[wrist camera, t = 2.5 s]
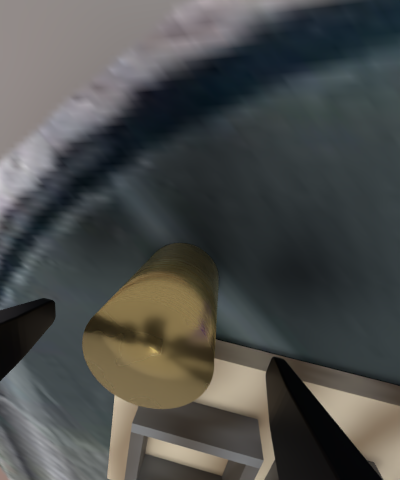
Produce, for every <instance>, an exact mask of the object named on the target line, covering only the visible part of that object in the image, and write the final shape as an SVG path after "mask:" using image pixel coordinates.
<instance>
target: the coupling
mask: <svg viewBox="0 0 400 480" xmlns="http://www.w3.org/2000/svg"><path fill="white" fill-rule="evenodd" d="M218 282H219V276H218V271H217V267H216V265H215V263H214V261H213V260H212V259H211V257H210V256H209V255H208V254H207V253H206V252H204V251H203V250H202V249H200V248H198V247H196V246H194V245H190V244H186V243H174V244H169V245H167V246H164V247H163V248H161V249H159V250H158V251H157V252H156V253H155V254H154V255H153V256H152V257H151V258H150V259H149V260H148V261H147V262H146V263H145V264H144V265H143V266H142V267H141V268H140V269H139V270H138V271H137V272H136V273H135V274H134V275H133V276H132V277H131V278H130V279H129V281H128V282H127V283H126V284H125V285H124V286H123V287H122V288H121V289H120V290H119V291H118V292H117V293H116V294H115V295H114V296H113V297H112V298H111V299H110V300H109V301H108V302H107V303H106V304H105V305H104V306H103V307H102V308H101V309H100V310H99V311H98V312H97V313H96V314H95V315H94V316H93V317H92V318H91V320H90V321H89V323H88V324H87V326H86V328H85V331H84V335H83V342H82V345H83V353H84V357H85V360H86V363H87V365H88V367H89V369H90V371H91V372H92V374H93V375H94V376H95V378H96V379H97V380H98V381H99V382H100V383H101V384H102V385H103V386H104V387H105V388H106V389H107V390H109V391H110V392H111V393H113V394H114V395H116V396H117V397H119V398H121V399H123V400H125V401H127V402H129V403H132V404H135V405H138V406H142V407H146V408H152V409H171V408H177V407H181V406H184V405H187V404H189V403H191V402H193V401H194V400H196V399H197V398H199V397H200V396H201V395H202V394H203V393H204V392H205V391H206V390H207V388H208V386H209V385H210V383H211V380H212V378H213V373H214V359H215V340H216V320H217V301H218Z"/></svg>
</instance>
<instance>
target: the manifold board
mask: <svg viewBox="0 0 400 480" xmlns="http://www.w3.org/2000/svg"><path fill="white" fill-rule="evenodd" d="M274 356H275V357H279V358H283V359H284V360H285V361H286V362H287V363H288V364H289V365H290V367H291V368H292V369H293V370H294V372H295V373H296V374H297V375H298V376H299V378H300V379H301V380H302V381H303V383H304V384H305V385H306V386H307V387H308V389H309V390H310V391H311V392H312V394H313V395H314V396H315V397H316V398H317V400H318V401H319V402H320V403H321V405H322V406H323V407H324V408H325V410H326V411H327V412H328V413H329V414H330V416H331V417H332V418H333V419H334V421H335V422H336V423H337V424H338V425H339V427H340V428H341V429H342V430H343V432H344V433H345V434H346V435H347V436H348V438H349V439H350V440H351V441H352V443H353V444H354V445H355V446H356V447H357V449H358V450H359V451H360V452H361V454H362V455H363V456H364V457H365V458H366V460H367V461H368V462H369V463H370V465H371V466H372V467H373V468H374V469H375V471H376V472H377V473H378V474H379V476H380V477H381V478H382V480H400V386H398V385H394V384H390V383H386V382H382V381H378V380H374V379H370V378H366V377H362V376H358V375H354V374H350V373H346V372H343V371H339V370H335V369H331V368H327V367H323V366H319V365H315V364H311V363H307V362H303V361H299V360H295V359H291V358H287V357H283V356H279V355H275V354H271V353H267V352H263V351H260V350H256V349H252V348H248V347H244V346H240V345H236V344H232V343H228V342H224V341H220V340H215V359H214V373H213V378H212V380H211V383H210V385H209V386H208V388H207V390H206V391H205V392H204V393H203V394H202V395H201V396H200V397H199V398H197V399H196V400H194V401H193V402H191V403H189V404H187V405H184V406H181V407H177V408H171V409H152V408H146V407H142V406H138V405H135V404H132V403H129V402H127V401H125V400H123V399H121V398H119V397H117V396H116V395H115V398H114V410H113V421H112V432H111V443H110V454H109V465H108V476H107V478H108V479H111V480H279V479H278V474H277V468H276V462H275V456H274V450H273V444H272V439H271V432H270V425H269V415H268V403H267V390H266V371H267V368H268V366H269V363H270V361H271V358H272V357H274Z"/></svg>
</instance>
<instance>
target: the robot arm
mask: <svg viewBox="0 0 400 480" xmlns="http://www.w3.org/2000/svg"><path fill="white" fill-rule="evenodd" d="M55 316H56V315H55V302H54V301H53V300H50V299H46V298H42V299H38V300H35V301H31V302H28V303H24V304H21V305H17V306H14V307H10V308H7V309H3V310H0V381H1V380H2V379H3V378H4V377H5V376H6V375H7V374H8V373H9V372H10V371H11V370H12V369H13V368H14V367H15V366H16V365H17V364H18V363H19V361H20V360H21V359H22V358H23V357H24V356H25V355H26V354H27V353H28V352H29V350H30V349H31V348H32V347H33V346H34V344H35V343H36V342H37V341H38V340H39V339H40V337H41V336H42V335H43V334H44V333H45V331H46V330H47V329H48V328H49V327H50V326H51V324H52V323H53V322H54V320H55ZM266 390H267V403H268V415H269V425H270V432H271V439H272V444H273V450H274V456H275V462H276V468H277V474H278V479H279V480H382V478H381V477H380V476H379V474H378V473H377V472H376V471H375V469H374V468H373V467H372V466H371V465H370V463H369V462H368V461H367V460H366V458H365V457H364V456H363V455H362V454H361V452H360V451H359V450H358V449H357V447H356V446H355V445H354V444H353V443H352V441H351V440H350V439H349V438H348V436H347V435H346V434H345V433H344V432H343V430H342V429H341V428H340V427H339V425H338V424H337V423H336V422H335V421H334V419H333V418H332V417H331V416H330V414H329V413H328V412H327V411H326V410H325V408H324V407H323V406H322V405H321V403H320V402H319V401H318V400H317V398H316V397H315V396H314V395H313V394H312V392H311V391H310V390H309V389H308V387H307V386H306V385H305V384H304V383H303V381H302V380H301V379H300V378H299V376H298V375H297V374H296V373H295V372H294V370H293V369H292V368H291V367H290V365H289V364H288V363H287V362H286V361H285V360H284V359H283V358H279V357H275V356H274V357H272V358H271V361H270V363H269V366H268V368H267V371H266Z"/></svg>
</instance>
